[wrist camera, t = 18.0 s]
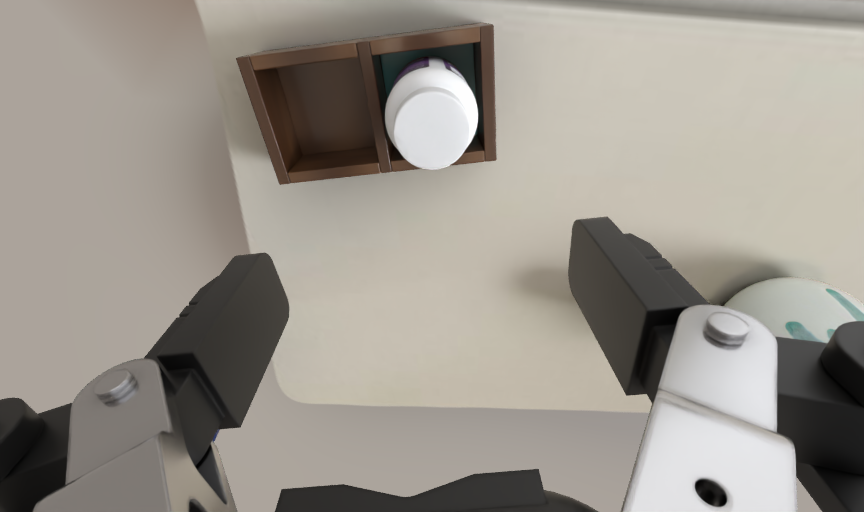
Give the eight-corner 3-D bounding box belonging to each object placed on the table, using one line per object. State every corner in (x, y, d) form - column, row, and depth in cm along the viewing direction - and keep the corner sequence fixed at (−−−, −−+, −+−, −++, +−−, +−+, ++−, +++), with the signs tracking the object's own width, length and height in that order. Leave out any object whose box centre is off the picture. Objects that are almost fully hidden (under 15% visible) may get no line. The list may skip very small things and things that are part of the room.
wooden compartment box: (297, 163, 31) (279, 184, 27) (263, 51, 27) (235, 58, 23) (487, 141, 30) (496, 160, 26) (483, 22, 26) (493, 24, 22)
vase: (680, 346, 43) (818, 528, 28) (725, 260, 37) (933, 434, 22) (782, 347, 43) (974, 528, 28) (844, 261, 37) (1132, 434, 22)
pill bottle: (391, 131, 29) (377, 178, 21) (394, 51, 26) (379, 69, 18) (462, 137, 29) (476, 186, 21) (472, 59, 26) (493, 80, 18)
